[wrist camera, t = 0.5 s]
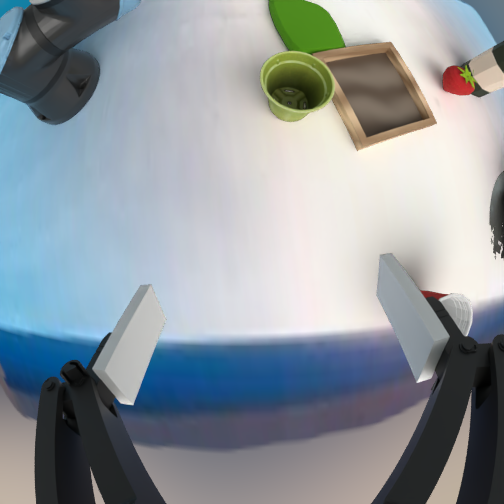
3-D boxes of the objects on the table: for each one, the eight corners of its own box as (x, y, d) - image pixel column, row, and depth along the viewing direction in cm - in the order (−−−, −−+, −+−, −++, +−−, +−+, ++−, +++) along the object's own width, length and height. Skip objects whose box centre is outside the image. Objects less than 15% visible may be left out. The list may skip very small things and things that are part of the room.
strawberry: (427, 72, 35) (455, 52, 26) (452, 80, 35) (481, 65, 26) (434, 97, 36) (465, 81, 26) (459, 105, 36) (490, 92, 26)
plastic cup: (375, 295, 41) (413, 321, 29) (423, 264, 40) (468, 279, 29) (391, 344, 42) (425, 377, 30) (435, 314, 42) (474, 337, 30)
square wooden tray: (308, 61, 35) (312, 53, 33) (385, 48, 35) (391, 42, 32) (357, 150, 38) (363, 147, 35) (429, 126, 37) (436, 123, 35)
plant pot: (257, 131, 37) (260, 110, 29) (257, 77, 36) (260, 48, 27) (319, 134, 37) (337, 116, 29) (316, 81, 36) (331, 55, 27)
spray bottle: (289, 61, 36) (248, -19, 33) (347, 56, 36) (299, -23, 33) (291, 52, 33) (248, -28, 30) (353, 47, 33) (300, -32, 30)
